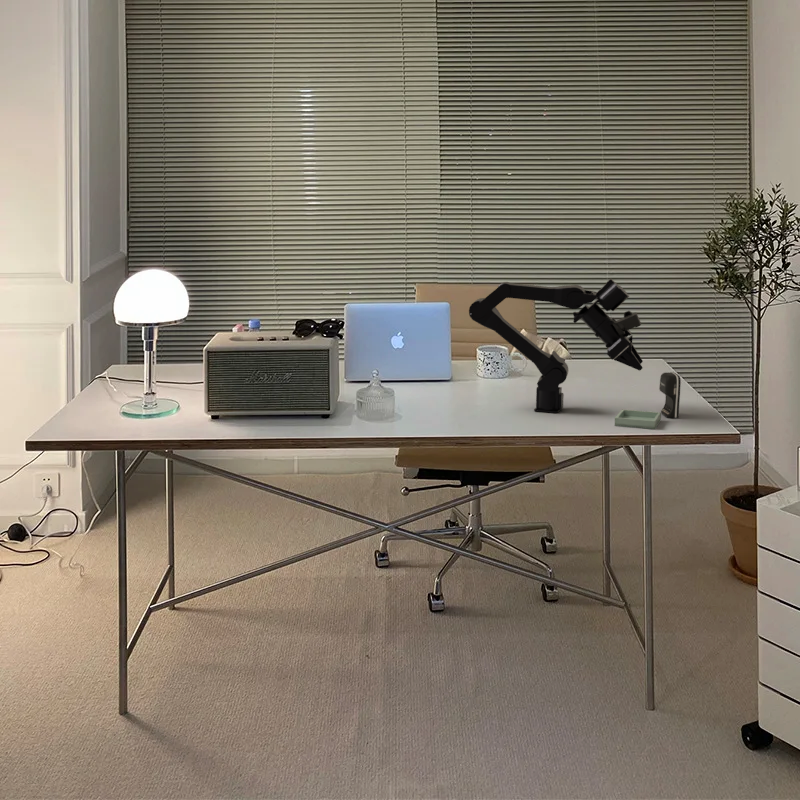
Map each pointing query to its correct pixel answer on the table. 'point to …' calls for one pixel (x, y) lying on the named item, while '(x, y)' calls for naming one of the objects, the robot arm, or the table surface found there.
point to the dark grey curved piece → (670, 394)
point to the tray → (638, 419)
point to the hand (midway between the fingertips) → (641, 366)
